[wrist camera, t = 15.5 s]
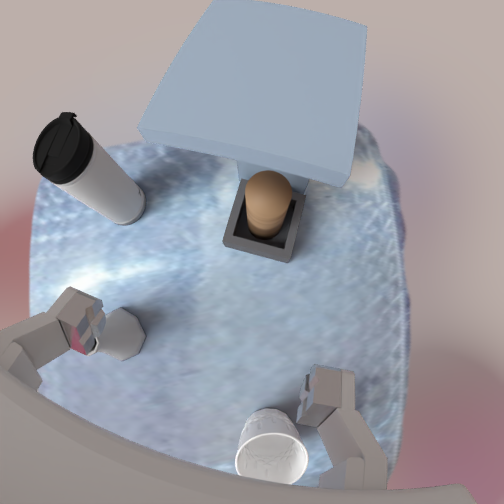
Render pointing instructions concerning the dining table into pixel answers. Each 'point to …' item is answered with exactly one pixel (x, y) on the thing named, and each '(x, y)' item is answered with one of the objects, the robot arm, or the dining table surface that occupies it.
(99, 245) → the dining table surface
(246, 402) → the dining table surface
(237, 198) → the socket
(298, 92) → the awning
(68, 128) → the travel mug
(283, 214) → the peg
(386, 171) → the dining table surface
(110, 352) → the flask
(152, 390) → the dining table surface
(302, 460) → the white cup
